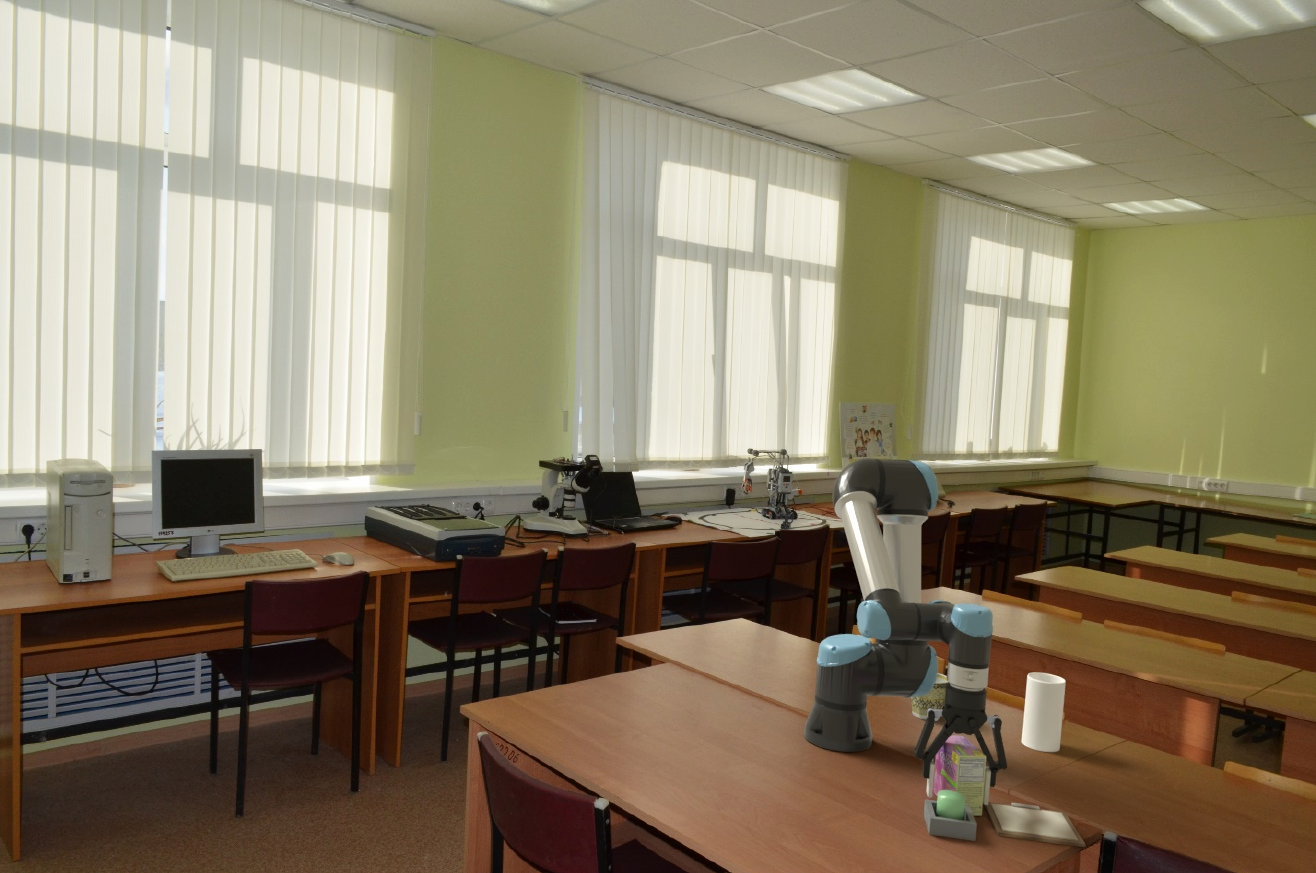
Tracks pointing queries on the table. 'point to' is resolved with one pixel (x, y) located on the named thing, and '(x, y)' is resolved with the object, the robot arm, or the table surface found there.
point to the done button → (950, 804)
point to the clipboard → (1033, 824)
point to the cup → (1043, 712)
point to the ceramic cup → (930, 698)
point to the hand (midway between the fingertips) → (956, 798)
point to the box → (961, 771)
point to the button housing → (949, 823)
